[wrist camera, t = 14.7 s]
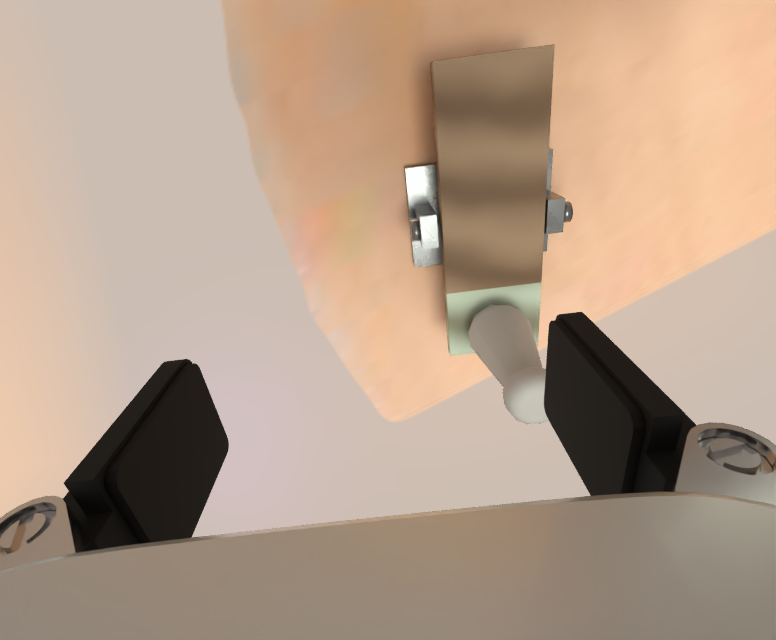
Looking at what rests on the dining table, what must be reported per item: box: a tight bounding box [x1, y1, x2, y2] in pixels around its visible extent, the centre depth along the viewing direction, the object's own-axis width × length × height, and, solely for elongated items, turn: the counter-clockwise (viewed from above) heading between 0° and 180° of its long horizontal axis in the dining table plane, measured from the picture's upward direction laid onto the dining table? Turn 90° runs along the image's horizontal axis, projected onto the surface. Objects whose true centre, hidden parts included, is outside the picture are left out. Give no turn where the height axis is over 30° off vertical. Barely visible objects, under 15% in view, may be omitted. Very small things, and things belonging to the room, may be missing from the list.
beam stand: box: [405, 149, 573, 267], centre depth 39 cm, size 10×14×6 cm
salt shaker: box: [468, 304, 549, 424], centre depth 35 cm, size 6×6×13 cm
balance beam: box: [430, 44, 554, 356], centre depth 37 cm, size 26×9×2 cm, turn 7°
